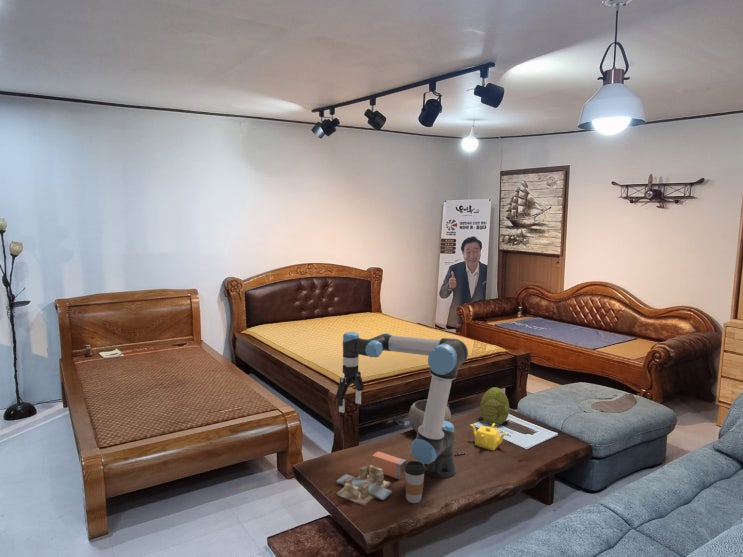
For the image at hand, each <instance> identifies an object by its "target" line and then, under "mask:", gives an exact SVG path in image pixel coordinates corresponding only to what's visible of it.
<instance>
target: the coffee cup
mask: <svg viewBox="0 0 743 557" xmlns="http://www.w3.org/2000/svg"><path fill="white" fill-rule="evenodd" d="M425 473H426V472H425V468H424V465H423V464H422V463H421V462H418V461H417V460H412V461H411V460H410V461H408V462H406V466H405V476H404V477H405V479H404V480H405V481H404V482H405V498H406V501H407V502H409V503H412V504H417V503H420V502H421V501H422V496H423V491H424V489H423V488H424V481H425V480H424V479H425V478H424V477H425Z"/></svg>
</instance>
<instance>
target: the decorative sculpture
mask: <svg viewBox="0 0 743 557" xmlns="http://www.w3.org/2000/svg"><path fill="white" fill-rule="evenodd" d="M479 411H480V416H481V418H482V419H483V421H484V422H485V423H487V422H488V423H487V424H489V423H491V424H490V425H492V424H493V423H495V424H499V425H503V424H504V423H505V422H506V421H507V419H508V417H509V415H510V414H509V413H510V404H509V399H508V396H507V395H506V393H505V392H504V391H503V390H502V389H501V388H499V387H497V386H496V387H494V386H493V387H491V388H489V389H487V391H485V393H484V394H483V395H482V397H481V400H480V404H479Z"/></svg>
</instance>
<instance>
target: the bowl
mask: <svg viewBox="0 0 743 557" xmlns="http://www.w3.org/2000/svg"><path fill="white" fill-rule="evenodd" d="M426 404H427V399H421V400H417V401H415V402H413V403H412V405H411V406H410V408H409V412H408V416H407V417H408V419H407V420H408V423H409V425H410V427H411V428H412V429H413V430H414V431H415V432H416V433H417V432H418V428H419V426H421V425H422V424H423V419H424V414H425V409H426ZM444 421H448V422H450V423H452V413H451V410H450V407H449V406H447V407H446V412H445V416H444Z"/></svg>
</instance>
